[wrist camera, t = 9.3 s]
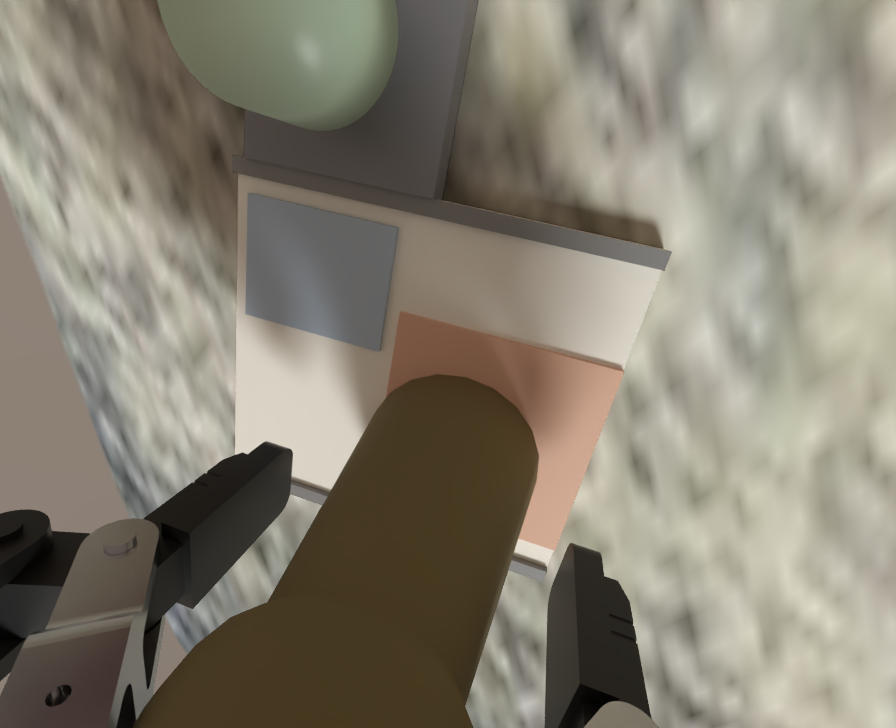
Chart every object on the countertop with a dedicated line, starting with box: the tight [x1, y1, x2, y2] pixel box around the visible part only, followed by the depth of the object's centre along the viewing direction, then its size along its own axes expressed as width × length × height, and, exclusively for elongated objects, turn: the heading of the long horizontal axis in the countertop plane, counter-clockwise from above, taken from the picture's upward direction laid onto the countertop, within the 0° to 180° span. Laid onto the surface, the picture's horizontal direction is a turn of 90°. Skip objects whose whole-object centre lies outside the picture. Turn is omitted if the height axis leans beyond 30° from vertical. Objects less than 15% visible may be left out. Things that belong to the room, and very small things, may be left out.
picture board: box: [233, 155, 672, 582], centre depth 15 cm, size 13×12×1 cm
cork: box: [132, 374, 539, 728], centre depth 10 cm, size 6×6×11 cm
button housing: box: [244, 0, 478, 200], centre depth 12 cm, size 6×6×1 cm
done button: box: [157, 0, 399, 131], centre depth 9 cm, size 4×4×2 cm
